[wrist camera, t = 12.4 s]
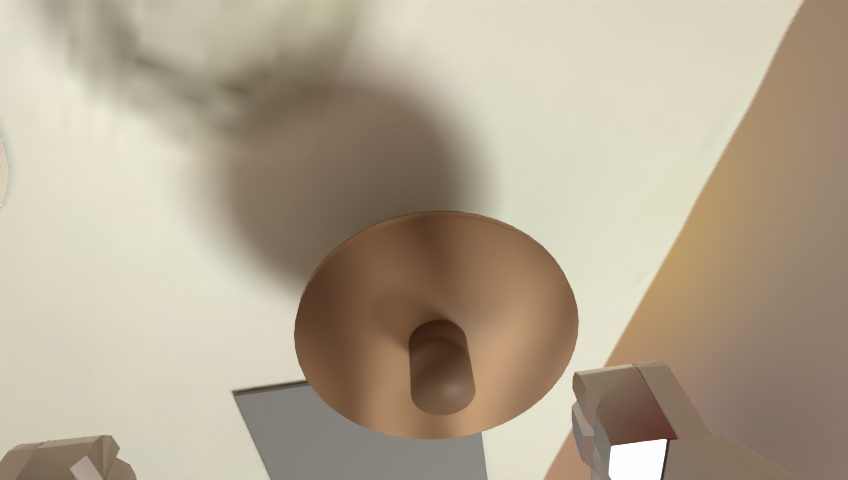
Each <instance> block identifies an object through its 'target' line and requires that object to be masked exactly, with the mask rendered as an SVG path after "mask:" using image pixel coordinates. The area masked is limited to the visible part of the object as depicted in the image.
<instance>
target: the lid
mask: <svg viewBox="0 0 848 480" xmlns="http://www.w3.org/2000/svg"><path fill="white" fill-rule="evenodd" d="M578 323H579V321H578V310H577V305H576V301H575V297H574V294H573V291H572V289H571V287H570V285H569V283H568V280H567V278H566V276H565V274H564V272H563V271H562V269H561V268H560V266H559V265H558V263H557V262H556V260H555V259H554V258H553V257H552V256H551V254H550V253H549V252H548V251H547V250H546V249H545V248H544V247H543V246H542V245H540V244H539V243H538V242H537V241H535V240H534V239H533V238H532V237H530V236H529V235H527V234H525V233H524V232H522V231H520V230H518V229H517V228H515V227H513V226H511V225H508V224H506V223H503V222H501V221H499V220H496V219H493V218H489V217H485V216H481V215H478V214H471V213H464V212H457V211H431V212H421V213H413V214H409V215H404V216H400V217H395V218H392V219H389V220H386V221H383V222H381V223H378V224H375V225H373V226H371V227H369V228H367V229H365V230H363V231H361V232H359V233H357V234H355V235H354V236H352V237H351V238H349V239H348V240H346V241H345V242H343V243H342V244H341V245H339V246H338V247H337V248H336V249H335V250H334V251H333V252H331V253H330V254H329V255H328V256H327V257H326V258H325V259H324V261H323V262H322V263H321V264H320V265H319V266H318V268H317V269H316V270H315V272H314V273H313V275H312V277H311V278H310V280H309V281H308V283H307V285H306V287H305V290H304V292H303V294H302V297H301V300H300V304H299V308H298V312H297V316H296V320H295V331H294V339H295V350H296V354H297V358H298V361H299V365H300V367H301V369H302V371H303V373H304V376H305V378H306V379H307V381H308V382H309V384H310V385H311V387H312V388H313V390H314V391H315V392H316V393H317V394H318V395H319V397H320V398H321V399H322V400H323V401H324V402H325V403H326V404H328V405H329V406H330V407H331V408H332V409H333V410H335V411H336V412H338V413H339V414H341V415H342V416H344V417H345V418H347V419H348V420H350V421H352V422H354V423H356V424H358V425H360V426H363V427H365V428H368V429H370V430H373V431H376V432H379V433H383V434H387V435H390V436H396V437H402V438H409V439H421V440H429V439H448V438H456V437H461V436H467V435H472V434H475V433H479V432H482V431H486V430H488V429H491V428H494V427H496V426H499V425H501V424H503V423H505V422H507V421H509V420H511V419H513V418H515V417H517V416H518V415H520V414H522V413H523V412H525V411H526V410H528V409H529V408H531V407H532V406H533V405H534V404H536V403H537V402H538V401H539V400H541V399H542V398H543V397H544V396H545V395H546V394H547V393H548V392H549V391H550V390H551V389H552V388H553V386H554V385H555V384H556V382H557V381H558V380H559V379H560V377H561V376H562V374H563V373H564V371H565V369H566V367H567V366H568V364H569V362H570V359H571V357H572V354H573V352H574V349H575V345H576V340H577V336H578Z"/></svg>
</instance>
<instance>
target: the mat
mask: <svg viewBox="0 0 848 480" xmlns="http://www.w3.org/2000/svg"><path fill="white" fill-rule="evenodd" d="M234 398H235V400H236V402H237V404H238V406H239V409H240V411H241V413H242V415H243V418H244V420H245V422H246V424H247V426H248V429H249V431H250V433H251V435H252V437H253V440H254V442H255V444H256V446H257V449H258V451H259V453H260V455H261V457H262V460H263V462H264V464H265V466H266V469H267V471H268V473H269V475H270V477H271V480H488V479H487V472H486V464H485V457H484V449H483V442H482V435H481V432H479V433H475V434H472V435H467V436H461V437H456V438H448V439H429V440H421V439H409V438H402V437H396V436H390V435H387V434H383V433H379V432H376V431H373V430H370V429H368V428H365V427H363V426H360V425H358V424H356V423H354V422H352V421H350V420H348V419H347V418H345V417H344V416H342V415H341V414H339V413H338V412H336V411H335V410H333V409H332V408H331V407H330V406H329V405H328V404H326V403H325V402H324V401H323V400H322V399H321V398H320V397H319V395H318V394H317V393H316V392H315V391H314V390H313V388H312V387H311V385H310V384H309V382H307V383H300V384H293V385H286V386H279V387H272V388H266V389H259V390H252V391H245V392H238V393H235V395H234Z"/></svg>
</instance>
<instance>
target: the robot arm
mask: <svg viewBox="0 0 848 480" xmlns="http://www.w3.org/2000/svg"><path fill="white" fill-rule="evenodd" d="M7 186H8V162H7V157H6V152H5V148H4V145H3V142H2V139H1V137H0V206H1V204H2V203H3V200H4V198H5V195H6V191H7ZM573 391H574V393H575V396H576V398H577V401H576V402H575V403H574V404H573V406H572V424H573V431H574V437H575V440H576V444H577V447H578V450H579V453H580V456H581V459H582V461H583V462H585V463H586V464H587V465H589V466H590V467H591V468H592V470H591V471H592V472H591V480H799V479H798V478H796V477H794V476H793V475H791V474H789V473H788V472H786V471H784V470H783V469H781V468H779V467H778V466H776V465H774V464H773V463H771V462H769V461H768V460H766V459H764V458H763V457H761V456H759V455H758V454H756V453H754V452H753V451H751V450H749V449H748V448H746V447H744V446H743V445H741V444H739V443H738V442H736V441H734V440H732V439H731V438H729V437H727V436H726V435H724V434H714V435H713V433H712V432H711V430H710V428H709V427H708V425H707V424H706V422H705V421H704V419H703V418H702V416H701V415H700V413H699V412H698V410H697V409H696V407H695V406H694V404H693V403H692V401H691V400H690V398H689V397H688V395H687V394H686V392H685V391H684V389H683V388H682V386H681V385H680V383H679V382H678V380H677V379H676V377H675V376H674V374H673V372H672V371H671V369H670V368H669V366H668V365H667V364H666V363H665V362H664V361H662V360H656V361H649V362H642V363H635V364H632V365H630V364H627V365H621V366H613V367H606V368H599V369H592V370H585V371H578V372H575V373H574V376H573ZM119 449H120V447H119V446H118V445H117V443H116V442H115V440H114V439H113V437H112V436H108V435H100V436H91V437H81V438H72V439H62V440H53V441H47V442H39V443H30V444H21V445H18V446H16V447H14V448H13V449H11V450H10V451H8V452H7V454H6V455H5V456H4V458H3V459H2V461H1V462H0V480H136V475H135V473H134V471H133V469H132V468H131V466H130V465H129V464H127V463H126V462H124V461H122V460H120V459H118V458H116V457H117V454H118V452H119Z"/></svg>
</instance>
